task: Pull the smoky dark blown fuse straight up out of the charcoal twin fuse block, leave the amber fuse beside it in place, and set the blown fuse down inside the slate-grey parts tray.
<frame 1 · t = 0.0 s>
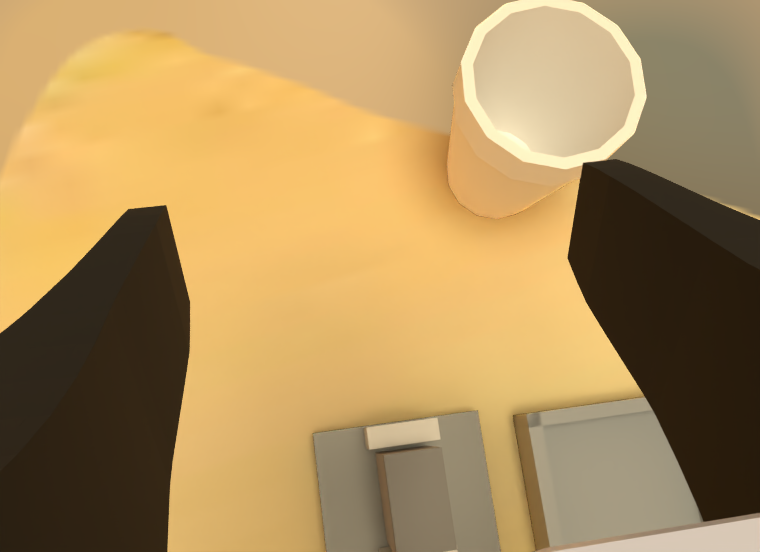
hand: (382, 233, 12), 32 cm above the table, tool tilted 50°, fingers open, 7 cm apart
foam cup: (492, 175, 48), on the table
parts tray: (622, 535, 43), on the table
blown fuse: (406, 492, 41), point 1 cm above the table, touching fuse block
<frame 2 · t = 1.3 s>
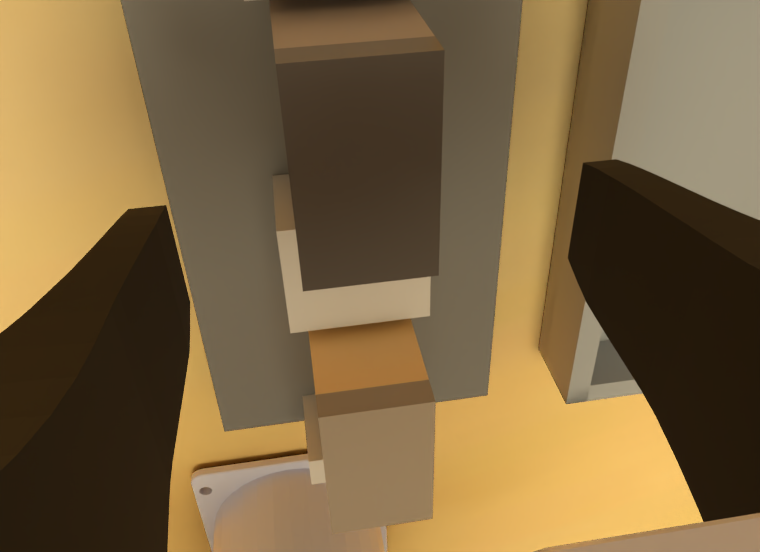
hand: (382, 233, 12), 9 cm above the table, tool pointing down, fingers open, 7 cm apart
fuse block: (339, 194, 22), on the table
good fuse: (353, 330, 24), point 1 cm above the table, touching fuse block
parts tray: (718, 155, 24), on the table
blown fuse: (335, 74, 19), point 1 cm above the table, touching fuse block
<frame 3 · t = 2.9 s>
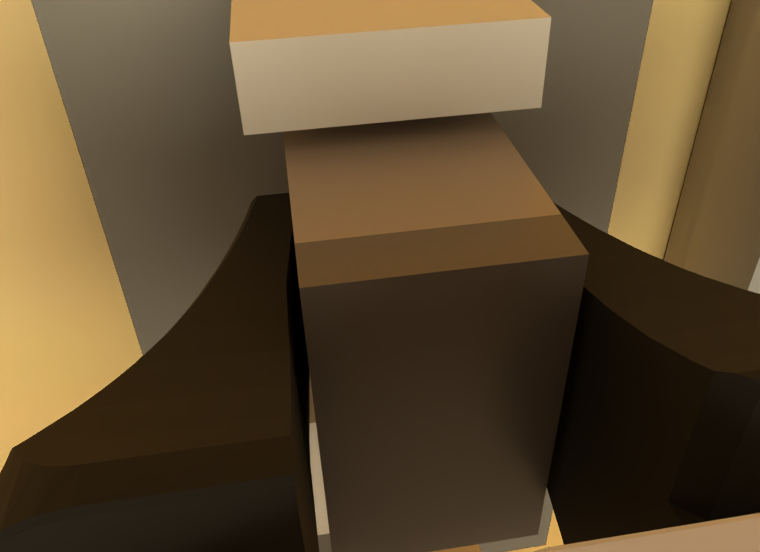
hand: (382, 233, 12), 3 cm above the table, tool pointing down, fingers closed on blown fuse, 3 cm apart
fuse block: (368, 322, 17), on the table
blown fuse: (370, 193, 13), point 1 cm above the table, touching fuse block, gripper
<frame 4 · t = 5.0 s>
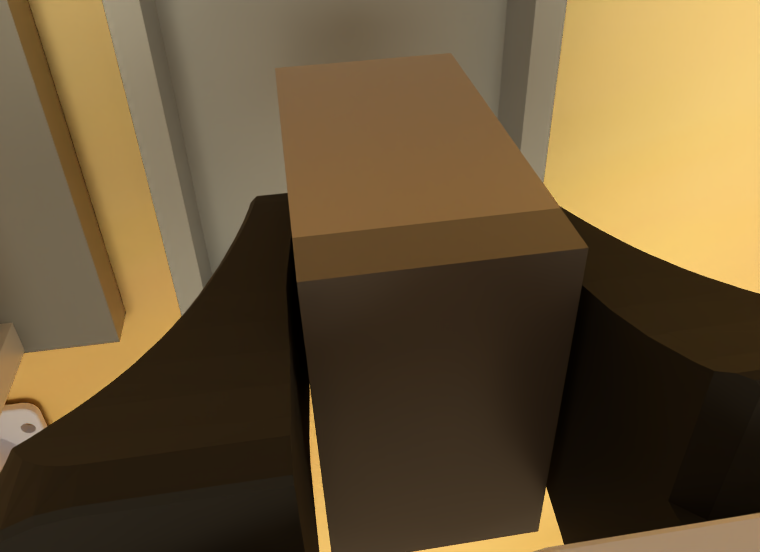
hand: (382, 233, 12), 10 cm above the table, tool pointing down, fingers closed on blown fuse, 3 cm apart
parts tray: (338, 51, 20), on the table
blown fuse: (369, 190, 13), point 9 cm above the table, touching gripper
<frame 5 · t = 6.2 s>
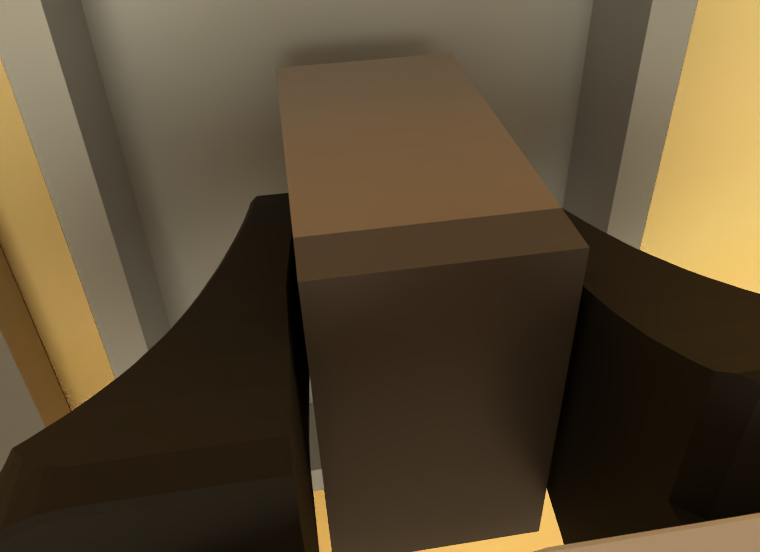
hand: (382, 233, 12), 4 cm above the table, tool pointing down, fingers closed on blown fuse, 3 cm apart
parts tray: (354, 138, 15), on the table
blown fuse: (370, 189, 13), point 2 cm above the table, touching gripper
when the fingers open (4 cm above the table, at t = 6.9 s): blown fuse drops 1 cm, resting on parts tray.
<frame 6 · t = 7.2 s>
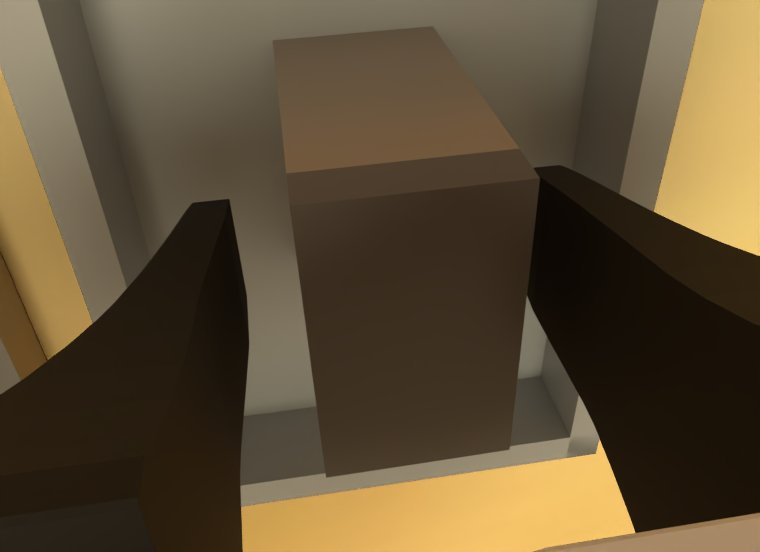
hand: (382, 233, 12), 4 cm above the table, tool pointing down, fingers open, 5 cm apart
parts tray: (355, 141, 15), on the table
blown fuse: (360, 154, 14), point 1 cm above the table, touching parts tray
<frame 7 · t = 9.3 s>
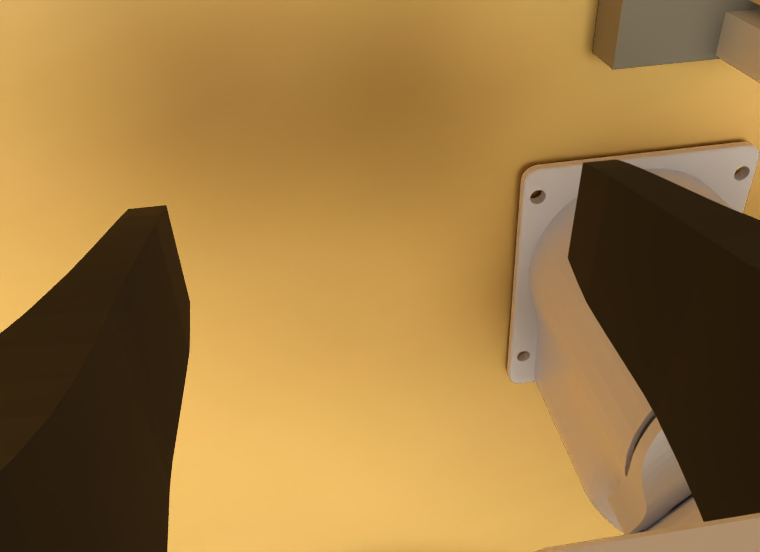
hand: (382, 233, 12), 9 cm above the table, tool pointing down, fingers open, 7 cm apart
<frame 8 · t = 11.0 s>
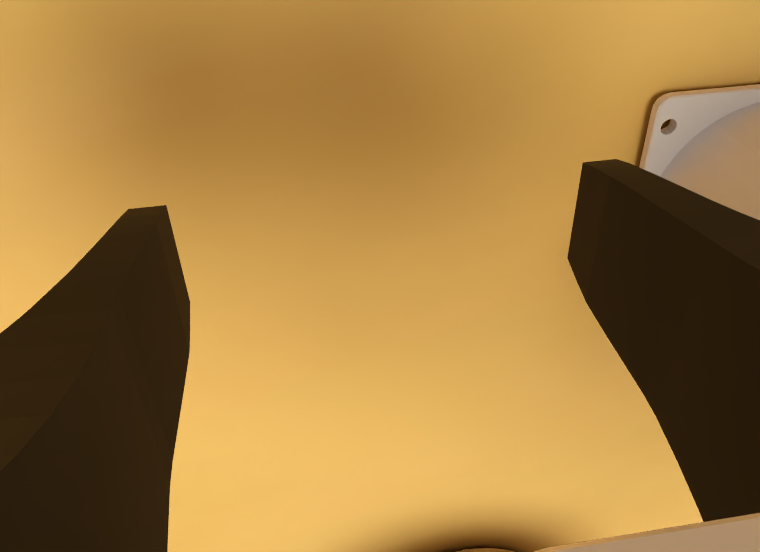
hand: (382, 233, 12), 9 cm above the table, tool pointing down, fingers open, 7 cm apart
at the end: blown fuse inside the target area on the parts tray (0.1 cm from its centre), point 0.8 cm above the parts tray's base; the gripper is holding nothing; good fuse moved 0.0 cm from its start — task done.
